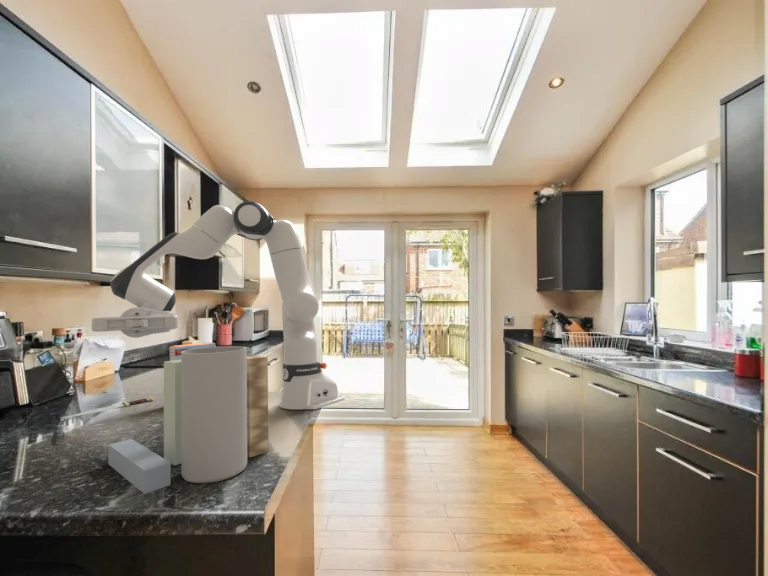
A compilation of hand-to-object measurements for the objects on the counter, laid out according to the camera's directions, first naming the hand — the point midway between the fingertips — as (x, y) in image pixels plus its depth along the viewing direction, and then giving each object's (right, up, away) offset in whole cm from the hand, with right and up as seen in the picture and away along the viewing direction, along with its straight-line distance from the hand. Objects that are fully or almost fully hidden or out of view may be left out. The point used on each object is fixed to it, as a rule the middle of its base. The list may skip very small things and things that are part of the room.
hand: (137, 323), depth 103 cm
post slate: (+6, -27, -16) cm, 32 cm away
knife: (-28, -33, +30) cm, 52 cm away
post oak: (+35, -29, -12) cm, 47 cm away
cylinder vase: (+31, -29, -22) cm, 48 cm away
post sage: (+20, -29, -16) cm, 39 cm away
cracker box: (-3, -32, +36) cm, 48 cm away
